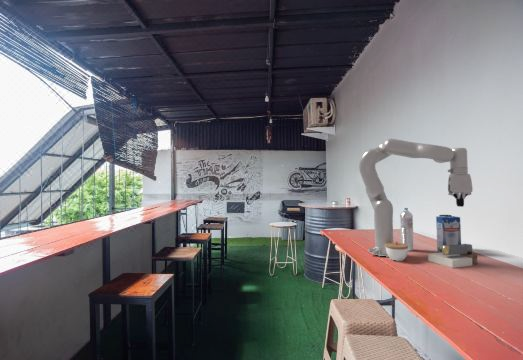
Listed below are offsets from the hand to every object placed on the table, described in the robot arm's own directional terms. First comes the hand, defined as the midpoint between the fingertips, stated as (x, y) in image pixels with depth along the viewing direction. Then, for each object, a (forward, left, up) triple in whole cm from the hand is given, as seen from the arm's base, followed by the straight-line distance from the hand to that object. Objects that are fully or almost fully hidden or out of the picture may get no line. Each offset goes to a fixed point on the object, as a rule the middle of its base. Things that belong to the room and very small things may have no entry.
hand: (460, 206), depth 153 cm
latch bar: (-12, -7, -22) cm, 26 cm away
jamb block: (-6, -8, -27) cm, 29 cm away
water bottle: (-12, +25, -27) cm, 39 cm away
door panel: (-14, -5, -27) cm, 31 cm away
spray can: (+12, +20, -27) cm, 36 cm away
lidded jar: (-33, +9, -27) cm, 44 cm away
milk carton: (+6, +13, -27) cm, 31 cm away
